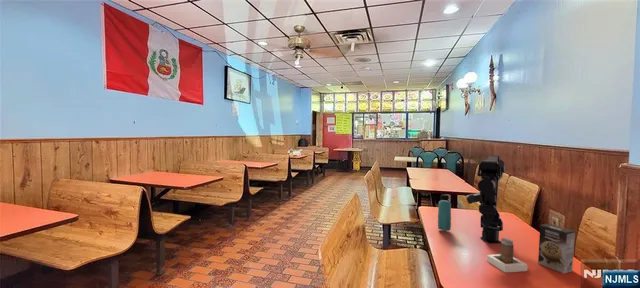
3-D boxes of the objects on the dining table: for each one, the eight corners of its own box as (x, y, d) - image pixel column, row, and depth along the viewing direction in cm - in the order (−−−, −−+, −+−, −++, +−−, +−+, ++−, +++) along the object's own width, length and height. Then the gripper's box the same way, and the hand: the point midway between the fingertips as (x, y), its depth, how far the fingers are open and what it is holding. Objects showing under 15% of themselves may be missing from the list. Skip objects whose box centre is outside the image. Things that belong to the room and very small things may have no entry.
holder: (507, 259, 114) (507, 253, 114) (527, 271, 105) (527, 264, 104) (486, 260, 113) (486, 254, 113) (504, 272, 103) (505, 266, 103)
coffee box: (537, 263, 111) (538, 224, 110) (546, 260, 113) (548, 222, 112) (564, 274, 102) (566, 232, 102) (573, 270, 105) (575, 230, 104)
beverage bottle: (452, 234, 142) (453, 196, 141) (438, 233, 143) (439, 195, 142) (448, 229, 148) (450, 193, 147) (436, 228, 150) (437, 193, 149)
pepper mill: (503, 262, 111) (504, 237, 111) (514, 266, 108) (515, 240, 107) (497, 264, 109) (498, 239, 109) (509, 269, 106) (510, 243, 105)
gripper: (469, 183, 131) (468, 215, 132) (465, 190, 116) (464, 226, 116) (496, 186, 125) (495, 219, 126) (496, 194, 110) (495, 231, 110)
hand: (487, 223), depth 120 cm, fingers open, 9 cm apart
